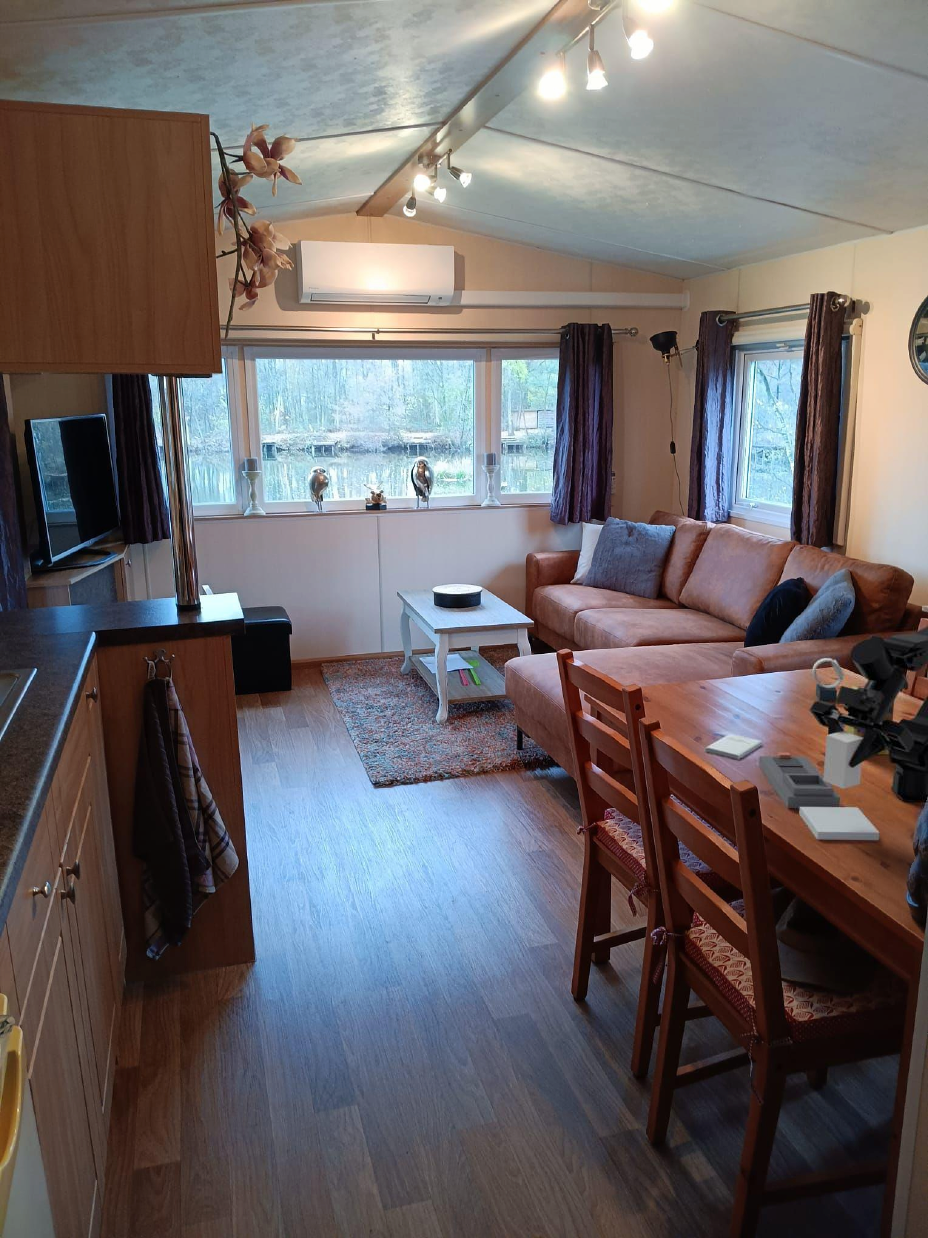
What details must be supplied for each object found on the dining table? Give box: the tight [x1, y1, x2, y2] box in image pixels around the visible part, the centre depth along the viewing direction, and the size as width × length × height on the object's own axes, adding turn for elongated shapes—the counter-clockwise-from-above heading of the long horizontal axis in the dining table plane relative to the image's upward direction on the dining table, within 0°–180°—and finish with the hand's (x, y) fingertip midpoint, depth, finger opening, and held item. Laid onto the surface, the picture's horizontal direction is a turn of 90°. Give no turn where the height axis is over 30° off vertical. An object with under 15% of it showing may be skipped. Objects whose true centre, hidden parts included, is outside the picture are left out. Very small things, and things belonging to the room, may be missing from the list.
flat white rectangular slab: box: [798, 806, 880, 841], centre depth 175 cm, size 11×11×2 cm
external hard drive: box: [704, 733, 763, 761], centre depth 216 cm, size 2×8×12 cm
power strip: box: [758, 751, 841, 810], centre depth 193 cm, size 10×22×4 cm, turn 177°
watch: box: [811, 657, 845, 703], centre depth 251 cm, size 6×8×11 cm
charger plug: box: [823, 730, 863, 790], centre depth 172 cm, size 4×4×9 cm
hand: (838, 762), depth 171 cm, fingers closed on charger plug, 5 cm apart
